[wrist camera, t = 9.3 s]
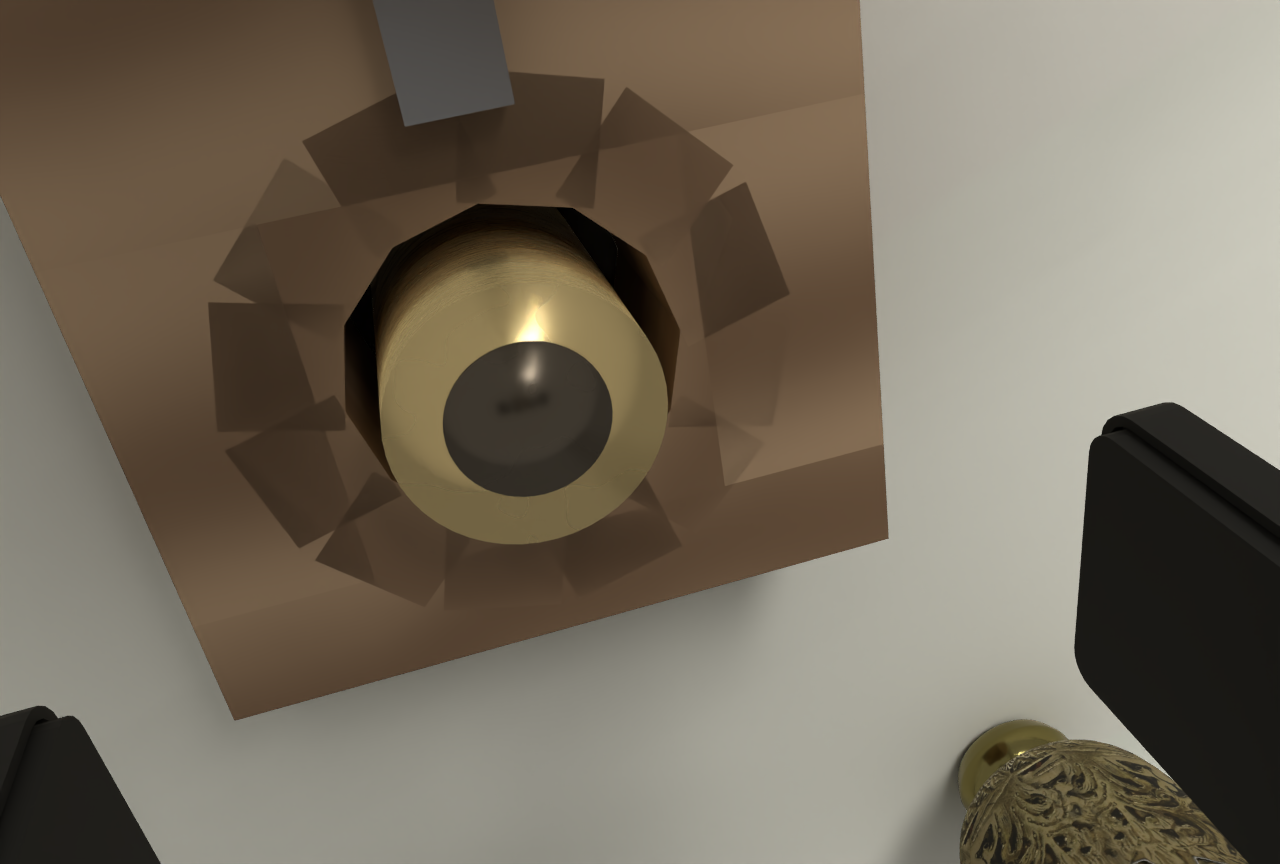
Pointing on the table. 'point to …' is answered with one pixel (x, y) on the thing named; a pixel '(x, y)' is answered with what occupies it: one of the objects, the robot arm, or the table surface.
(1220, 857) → the cup
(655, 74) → the jig
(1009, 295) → the table surface
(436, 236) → the cylinder
